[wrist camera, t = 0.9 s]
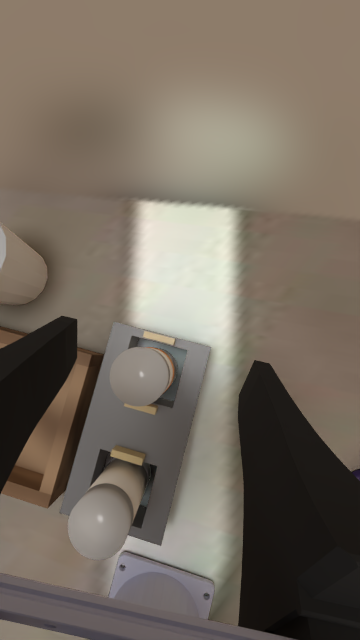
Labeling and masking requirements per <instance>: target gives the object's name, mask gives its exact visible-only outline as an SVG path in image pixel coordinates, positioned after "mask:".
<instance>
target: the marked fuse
mask: <svg viewBox="0 0 360 640" xmlns="http://www.w3.org/2000/svg"><path fill="white" fill-rule="evenodd" d="M177 371H178V368H177V363H176V360H175V358H174V357H173V356H172V354H170V353H169V352H168V351H166V350H163V349H158V348H153V347H134V348H130V349H127V350H125V351H124V352H122V353H121V354H120V355H118V357H117V358H116V359H115V360H114V362H113V364H112V367H111V370H110V384H111V388H112V390H113V392H114V393H115V395H116V396H117V397H118V398H119V399H120V400H121V401H122V402H124V403H126V404H128V405H131V406H146V405H149V404H151V403H153V402H154V401H156V400H157V399H158V398H159V397H160V396H161V395H162V394H163V393H164V392H165V391H166V390H167V389H168V388H169V387H170V386H171V384H172V383H173V382H174V380H175V378H176V376H177Z"/></svg>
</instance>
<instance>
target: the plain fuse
mask: <svg viewBox="0 0 360 640" xmlns="http://www.w3.org/2000/svg"><path fill="white" fill-rule="evenodd" d="M150 475H151V469H150V465H149V463H145V462H143V464H142V466H141V465H137V464H134V463H131V462H128V461H124V460H121V459H118V458H115V457H114V459H113V460H112V461H111V462H110V463H109V465H108V466H107V467H106V468H105V470H104V471H103V472H102V473H101V474H100V476H99V477H98V478H97V479H96V481H95V482H94V483H93V484H92V486H91V487H90V488H89V489H88V490H87V492H86V493H85V494H84V495H83V497H82V498H81V499H80V500H79V502H78V503H77V504H76V505H75V506H74V508H73V509H72V511H71V513H70V516H69V520H68V534H69V538H70V541H71V543H72V545H73V546H74V548H75V549H76V550H77V551H78V552H79V553H80V554H81V555H83V556H84V557H86V558H89V559H92V560H104V559H107V558H110V557H112V556H113V555H115V554H116V553H117V552H118V551H119V550H120V549H121V548H122V546H123V545H124V543H125V540H126V538H127V535H128V533H129V530H130V528H131V525H132V523H133V520H134V518H135V515H136V513H137V510H138V508H139V505H140V503H141V500H142V497H143V495H144V492H145V490H146V487H147V485H148V482H149V480H150Z"/></svg>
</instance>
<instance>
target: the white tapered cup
mask: <svg viewBox="0 0 360 640" xmlns="http://www.w3.org/2000/svg"><path fill="white" fill-rule="evenodd" d="M47 279H48V276H47V266H46V264H45V262H44V259H43V257H42V256H40V255H39V254H38V253H37V252H36V251H35V250H33V249H32V248H31V247H30V246H28V245H27V244H26V243H25V242H24V241H22V240H21V239H20V238H19V237H18V236H16V235H15V234H14V233H13V232H12V231H10V230H9V229H8V228H7V227H5V226H4V225H3V224H2V223H1V222H0V304H7V305H21V304H27V303H28V302H30V301H32V300H34V299H36V298H37V297H38V296H39V294H40V293H41V292H42V291H43V290H44V287H45V284H46V282H47Z"/></svg>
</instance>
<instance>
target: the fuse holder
mask: <svg viewBox="0 0 360 640" xmlns="http://www.w3.org/2000/svg"><path fill="white" fill-rule="evenodd" d="M139 337H140V338H143V339H147V340H151V341H155V342H159V343H162V344H166V345H170V346H174V347H178V348H181V349H185V350H188V351H187V354H186V358H185V362H184V366H183V370H182V374H181V378H180V382H179V385H178V389H177V393H176V397H175V401H171V400H167V399H163V398H160V397H159V398H158V399H157V400H156V401H154V402H153V403H151V404H149V405H146V406H131V405H128V404H126V403H124V402H122V401H121V400H120V399H119V398H118V397H117V396H116V395H115V393H114V392H113V390H112V388H111V384H110V370H111V367H112V364H113V362H114V360H115V359H116V358H117V357H118V355H120V354H121V353H122V352H124V351H125V350H127V349H130V348H134V347H137V344H138V340H139ZM210 349H211V347H209V346H205V345H201V344H198V343H194V342H190V341H186V340H182V339H178V338H175V337H171V336H167V335H163V334H159V333H155V332H152V331H148V330H144V329H140V328H136V327H132V326H129V325H125V324H121V323H117V322H114V323H113V327H112V330H111V334H110V337H109V341H108V344H107V348H106V351H105V355H104V358H103V362H102V365H101V369H100V372H99V376H98V379H97V383H96V386H95V390H94V393H93V397H92V400H91V404H90V407H89V411H88V415H87V418H86V422H85V425H84V429H83V432H82V436H81V439H80V443H79V446H78V450H77V453H76V457H75V460H74V464H73V467H72V471H71V474H70V478H69V481H68V485H67V488H66V492H65V495H64V499H63V503H62V506H61V510H60V513H63V514H66V515H69V516H70V513H71V511H72V509H73V508H74V506H75V505H76V504H77V503H78V502H79V500H80V499H81V498H82V497H83V495H84V494H85V493H86V492H87V490H88V489H89V488H90V487H91V486H92V484H93V483H94V482H95V481H96V479H97V478H98V477H99V476H100V474H101V473H102V471H103V468H104V464H105V460H106V457H107V453H108V451H109V452H111V455H110V456H111V457H115V458H118V459H121V460H124V461H128V462H131V463H134V464H137V465H141V466H142V464H143V462H145V463H149V464H152V465H155V466H158V467H157V470H156V474H155V478H154V482H153V486H152V490H151V494H150V497H149V501H148V505H147V507H145V506H142V505H139V508H138V510H137V513H136V515H135V518H134V520H133V523H132V525H131V528H130V530H129V533H128V535H129V536H132V537H135V538H139V539H142V540H145V541H148V542H151V543H154V544H157V545H160V546H161V544H162V540H163V536H164V532H165V528H166V524H167V520H168V516H169V512H170V508H171V504H172V500H173V496H174V492H175V488H176V484H177V480H178V476H179V472H180V468H181V464H182V460H183V456H184V452H185V448H186V444H187V440H188V436H189V432H190V429H191V425H192V421H193V417H194V413H195V409H196V405H197V401H198V397H199V393H200V389H201V385H202V381H203V377H204V373H205V369H206V365H207V361H208V357H209V353H210Z"/></svg>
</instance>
